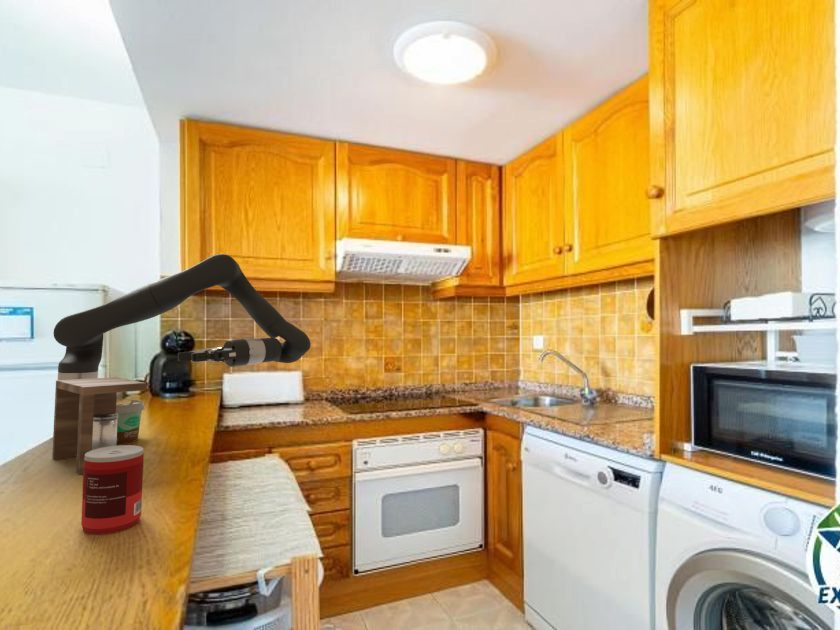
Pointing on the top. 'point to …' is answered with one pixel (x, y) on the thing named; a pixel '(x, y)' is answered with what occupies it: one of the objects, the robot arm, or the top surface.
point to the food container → (128, 421)
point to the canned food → (112, 489)
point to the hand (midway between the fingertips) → (184, 357)
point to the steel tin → (104, 430)
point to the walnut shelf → (83, 412)
